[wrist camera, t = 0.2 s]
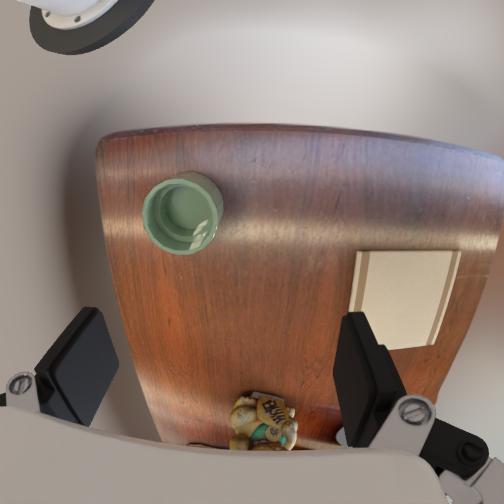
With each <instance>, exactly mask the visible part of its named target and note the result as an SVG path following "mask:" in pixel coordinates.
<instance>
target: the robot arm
mask: <svg viewBox="0 0 504 504" xmlns="http://www.w3.org/2000/svg"><path fill="white" fill-rule="evenodd" d="M16 1H20V2H23V3H26V4H29V5H32V6H35V7H38V8H40V9H42V15H43V18H44V20H45V21H46V22H47V24H48V25H50V26H52V27H54V28H57V29H61V30H70V29H76V28H79V27H82V26H84V25H86V24H88V23H90V22H92V21H94V20H95V19H97V18H99V17H100V16H102V15H103V14H104V13H105V12H106V11H108V10H109V9H110V8H111V7H112V6H113V5H114V4H115V3H116V2H117V1H118V0H16ZM118 368H119V360H118V358H117V355H116V352H115V349H114V347H113V344H112V341H111V338H110V335H109V332H108V329H107V326H106V323H105V320H104V317H103V314H102V312H100V311H99V309H98V308H95V307H84V308H82V310H81V311H80V312H79V313H78V314H77V316H76V317H75V318H74V319H73V320H72V321H71V323H70V324H69V325H68V326H67V327H66V329H65V330H64V331H63V332H62V334H61V335H60V336H59V337H58V339H57V340H56V341H55V342H54V344H53V345H52V346H51V347H50V349H49V350H48V351H47V353H46V354H45V355H44V356H43V358H42V359H41V360H40V362H39V363H38V364H37V366H36V367H35V368H34V370H35V372H36V373H37V374H36V375H35V376H33V374H32V373H29V372H20V373H18V374H15V375H14V376H13V377H11V378H10V380H9V381H8V383H7V385H6V393H3V394H0V504H449V503H448V500H447V497H446V495H448V496H449V497H450V498H451V499H452V500H453V502H452V504H504V464H503V463H502V462H501V461H500V460H498V459H497V458H496V457H495V458H494V459H491V458H490V457H489V450H488V447H487V444H486V443H485V442H484V441H483V439H481V438H479V437H478V436H476V435H473V434H471V433H469V432H466V431H464V430H462V429H459V428H457V427H455V426H452V425H450V424H448V423H446V422H444V421H441V420H439V419H437V418H435V417H436V409H435V407H434V405H433V403H432V402H431V401H430V400H429V399H427V398H425V397H423V396H421V395H417V394H410V395H407V393H406V390H405V388H404V385H403V383H402V381H401V378H400V376H399V374H398V372H397V369H396V367H395V365H394V362H393V360H392V358H391V356H390V354H389V351H388V349H387V347H386V346H385V345H384V344H378V342H377V340H376V337H375V335H374V333H373V331H372V328H371V326H370V324H369V322H368V320H367V317H366V315H365V313H364V312H363V311H357V312H348V314H347V316H343V317H342V322H341V328H340V334H339V340H338V346H337V351H336V357H335V362H334V367H333V378H334V382H335V387H336V391H337V396H338V401H339V406H340V410H341V415H342V420H343V425H344V430H345V435H346V440H347V445H348V446H349V447H351V446H352V447H353V448H341V449H322V450H302V451H243V450H224V449H211V448H200V447H190V446H182V445H174V444H167V443H160V442H154V441H149V440H143V439H138V438H133V437H128V436H123V435H118V434H114V433H110V432H106V431H102V430H98V429H94V428H90V427H89V426H90V424H91V422H92V420H93V418H94V415H95V414H96V411H97V409H98V408H99V406H100V403H101V401H102V399H103V397H104V395H105V393H106V391H107V389H108V388H109V386H110V384H111V381H112V380H113V378H114V376H115V374H116V372H117V370H118Z"/></svg>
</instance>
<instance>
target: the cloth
mask: <svg viewBox="0 0 504 504" xmlns="http://www.w3.org/2000/svg"><path fill="white" fill-rule="evenodd" d="M460 256H461V251H460V250H410V251H356V260H355V268H354V276H353V283H352V290H351V297H350V303H349V310H348V312H357V311H363V312H364V313H365V315H366V317H367V320H368V322H369V324H370V326H371V328H372V331H373V333H374V335H375V337H376V340H377V342H378V344H384V345H385V346H386V347H387V349H388V350H392V349H401V348H409V347H417V346H424V345H431V344H434V342H435V340H436V337H437V334H438V331H439V329H440V326H441V323H442V320H443V317H444V314H445V311H446V308H447V304H448V301H449V298H450V294H451V291H452V287H453V284H454V280H455V276H456V272H457V268H458V264H459V260H460Z"/></svg>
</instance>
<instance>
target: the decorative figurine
mask: <svg viewBox="0 0 504 504" xmlns="http://www.w3.org/2000/svg"><path fill="white" fill-rule="evenodd" d="M294 413H295V410H294V407H291V406H287V405H285V404H284V399H283V398H279V397H276V396H272V395H268V394H263V393H259V392H253V393H252V395H251V396H250V398H249V397H244V396H241V397H240V398H239V399H238V400H237V401H236V402H235V404H234V407H233V410H232V412H231V414H230V423H231V426H232V427H233V428H234V429H235V431H236V435H235V436H233V437H232V439H231V440H230V450H243V451H290V450H291V449H292V448H293V446H294V444H295V442H296V438H297V436H296V431H297V427H298V423H297V421H296V420H295V419H294V418H293V417H294Z"/></svg>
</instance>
